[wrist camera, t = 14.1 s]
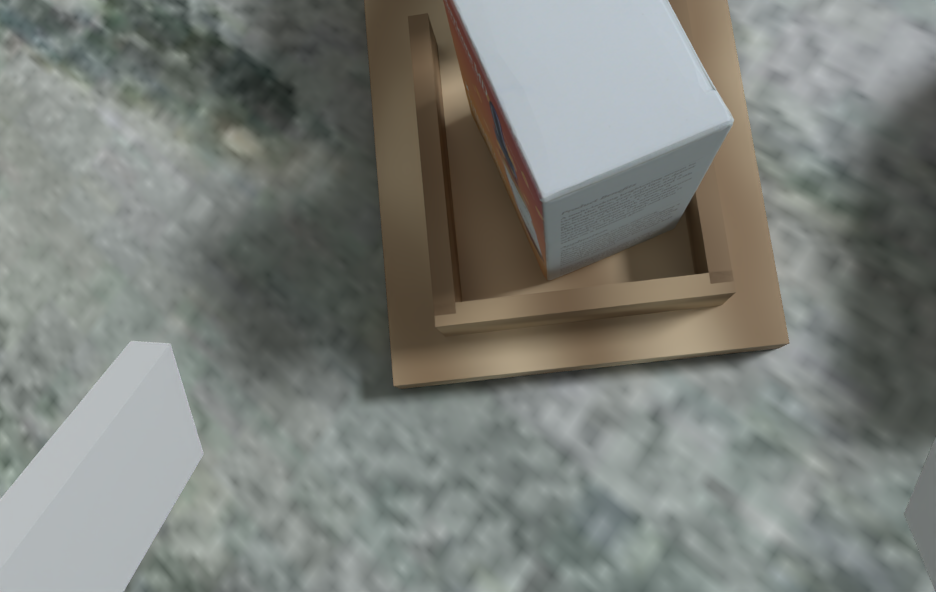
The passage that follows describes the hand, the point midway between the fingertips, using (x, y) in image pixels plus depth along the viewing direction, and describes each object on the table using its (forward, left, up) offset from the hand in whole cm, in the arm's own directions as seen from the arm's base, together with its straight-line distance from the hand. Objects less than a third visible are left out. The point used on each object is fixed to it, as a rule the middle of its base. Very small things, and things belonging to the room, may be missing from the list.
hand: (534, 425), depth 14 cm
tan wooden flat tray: (-2, -15, -18) cm, 23 cm away
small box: (-2, -10, -16) cm, 19 cm away
